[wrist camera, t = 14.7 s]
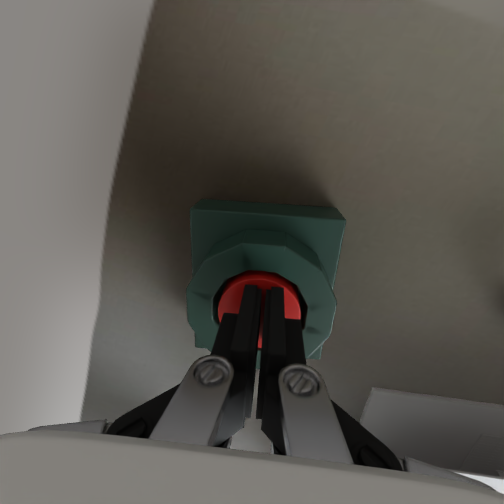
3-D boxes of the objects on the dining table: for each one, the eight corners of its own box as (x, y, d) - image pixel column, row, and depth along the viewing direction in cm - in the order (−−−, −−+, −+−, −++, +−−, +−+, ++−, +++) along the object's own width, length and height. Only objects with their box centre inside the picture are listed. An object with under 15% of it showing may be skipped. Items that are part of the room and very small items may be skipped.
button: (224, 321, 14) (217, 344, 13) (225, 257, 13) (217, 275, 11) (293, 327, 14) (295, 351, 13) (302, 264, 13) (305, 282, 11)
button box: (204, 323, 18) (184, 373, 14) (201, 198, 15) (175, 219, 11) (315, 333, 17) (325, 387, 14) (337, 207, 14) (358, 233, 10)
